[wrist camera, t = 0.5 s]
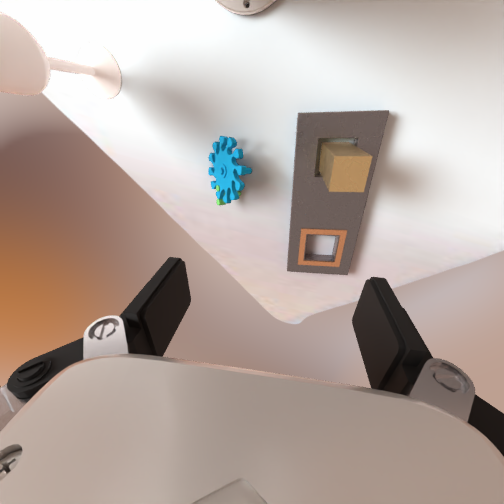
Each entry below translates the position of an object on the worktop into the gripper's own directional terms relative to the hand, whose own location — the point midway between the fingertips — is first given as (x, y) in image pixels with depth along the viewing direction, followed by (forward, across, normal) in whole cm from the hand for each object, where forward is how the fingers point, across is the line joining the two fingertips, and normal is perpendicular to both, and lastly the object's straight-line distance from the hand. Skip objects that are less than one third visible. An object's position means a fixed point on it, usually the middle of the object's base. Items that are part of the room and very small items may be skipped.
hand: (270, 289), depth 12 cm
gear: (+31, +9, +1) cm, 33 cm away
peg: (+31, -8, -2) cm, 32 cm away
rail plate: (+31, -8, +6) cm, 33 cm away
